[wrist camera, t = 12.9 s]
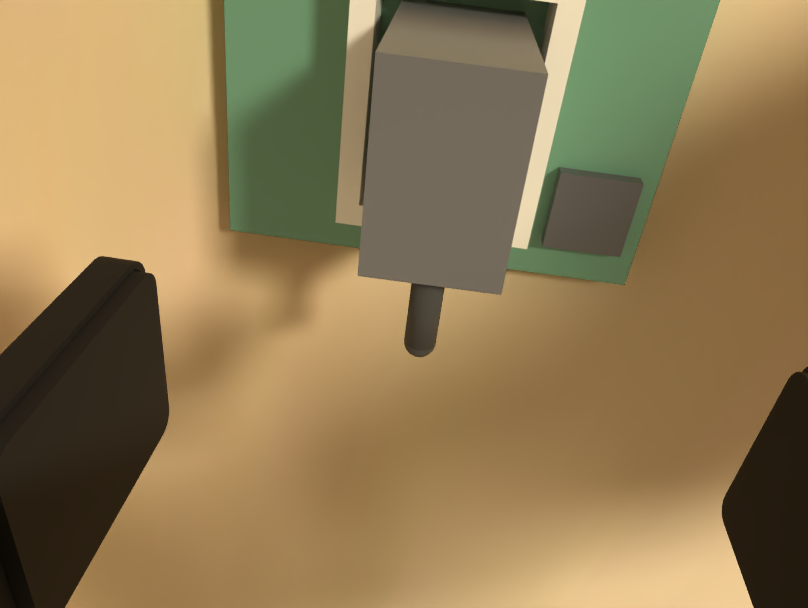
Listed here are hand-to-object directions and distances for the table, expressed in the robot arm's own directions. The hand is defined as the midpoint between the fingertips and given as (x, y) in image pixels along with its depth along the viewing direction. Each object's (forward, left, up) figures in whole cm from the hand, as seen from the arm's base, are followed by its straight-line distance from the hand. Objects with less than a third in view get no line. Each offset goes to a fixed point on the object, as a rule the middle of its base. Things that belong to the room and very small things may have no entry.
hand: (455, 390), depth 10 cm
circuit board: (0, 0, -18) cm, 17 cm away
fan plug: (0, +2, -16) cm, 16 cm away
